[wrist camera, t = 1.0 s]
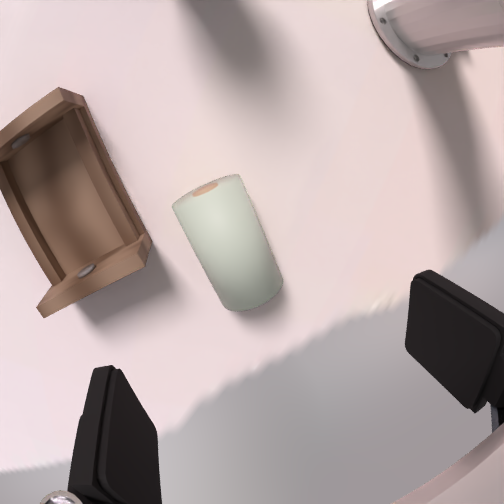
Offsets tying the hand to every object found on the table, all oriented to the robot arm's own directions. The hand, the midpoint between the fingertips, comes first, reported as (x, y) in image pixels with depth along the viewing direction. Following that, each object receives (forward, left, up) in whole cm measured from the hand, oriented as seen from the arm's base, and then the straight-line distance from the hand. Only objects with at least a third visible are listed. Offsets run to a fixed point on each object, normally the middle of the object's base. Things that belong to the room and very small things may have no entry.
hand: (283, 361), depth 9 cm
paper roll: (0, +3, -18) cm, 18 cm away
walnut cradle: (+12, -7, -21) cm, 25 cm away
